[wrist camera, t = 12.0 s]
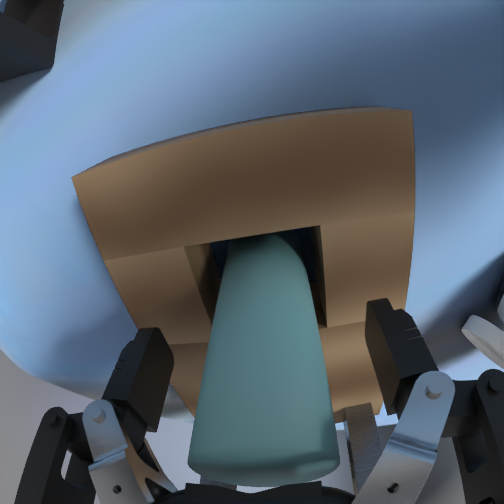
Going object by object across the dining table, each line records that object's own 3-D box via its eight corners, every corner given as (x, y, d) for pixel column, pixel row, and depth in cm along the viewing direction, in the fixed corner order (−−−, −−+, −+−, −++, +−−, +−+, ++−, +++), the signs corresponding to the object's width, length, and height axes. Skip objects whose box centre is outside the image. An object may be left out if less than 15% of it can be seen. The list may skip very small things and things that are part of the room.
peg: (221, 223, 16) (162, 443, 5) (295, 211, 15) (345, 435, 5) (237, 283, 18) (213, 486, 7) (303, 273, 17) (336, 479, 7)
